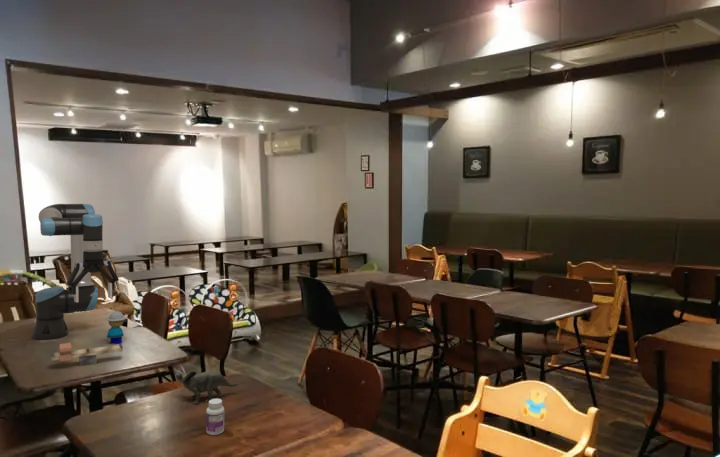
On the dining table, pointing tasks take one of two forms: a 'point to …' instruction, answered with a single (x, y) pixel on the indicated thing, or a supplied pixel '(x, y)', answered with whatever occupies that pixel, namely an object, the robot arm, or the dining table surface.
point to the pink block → (65, 352)
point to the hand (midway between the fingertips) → (93, 299)
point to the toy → (116, 326)
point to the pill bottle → (215, 417)
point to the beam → (89, 354)
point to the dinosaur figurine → (202, 383)
